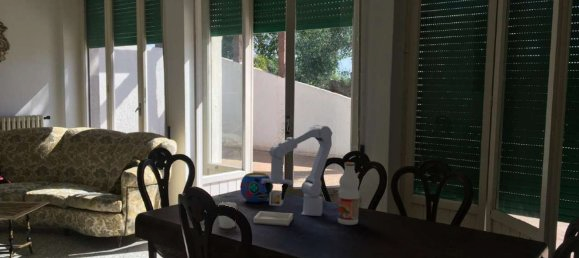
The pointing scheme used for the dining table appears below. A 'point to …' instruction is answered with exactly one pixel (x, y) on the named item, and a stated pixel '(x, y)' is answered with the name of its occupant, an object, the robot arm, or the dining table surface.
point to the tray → (273, 218)
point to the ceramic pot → (254, 187)
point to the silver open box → (272, 195)
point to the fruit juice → (348, 196)
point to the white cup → (226, 221)
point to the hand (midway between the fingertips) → (276, 198)
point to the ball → (277, 199)
